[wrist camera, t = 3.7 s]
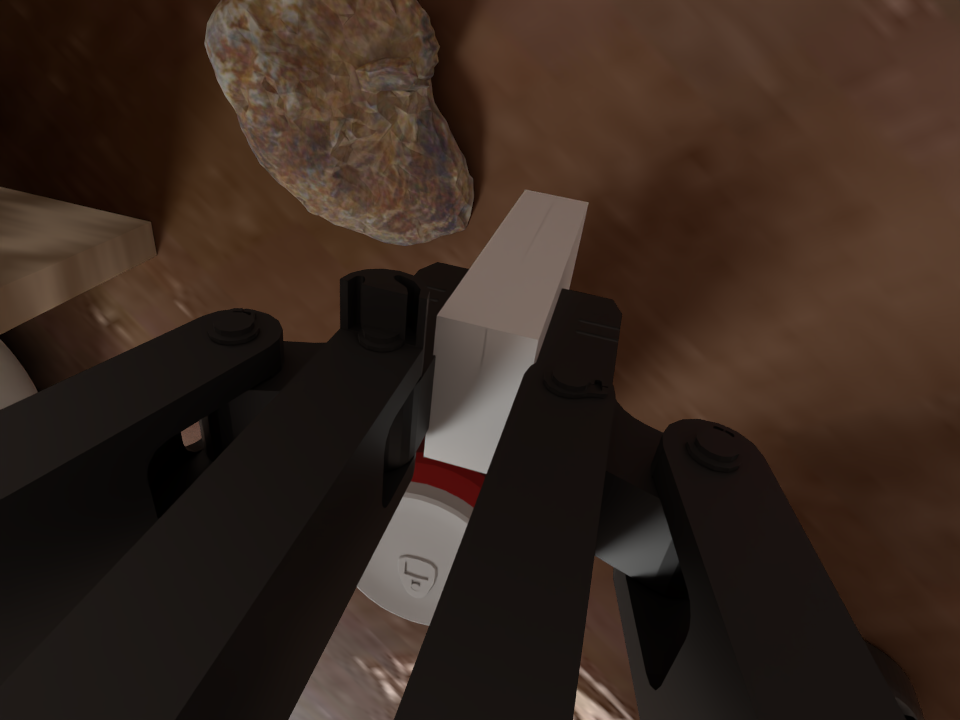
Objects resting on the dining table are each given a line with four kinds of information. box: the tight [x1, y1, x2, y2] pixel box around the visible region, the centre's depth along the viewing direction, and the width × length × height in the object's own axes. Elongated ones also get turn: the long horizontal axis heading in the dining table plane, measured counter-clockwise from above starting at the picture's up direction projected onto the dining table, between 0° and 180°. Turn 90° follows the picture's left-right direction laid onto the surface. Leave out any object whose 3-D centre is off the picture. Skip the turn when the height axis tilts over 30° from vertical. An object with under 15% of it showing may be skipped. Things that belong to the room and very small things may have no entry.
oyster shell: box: [204, 0, 474, 246], centre depth 25 cm, size 10×12×5 cm
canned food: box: [357, 434, 486, 625], centre depth 30 cm, size 8×8×11 cm
